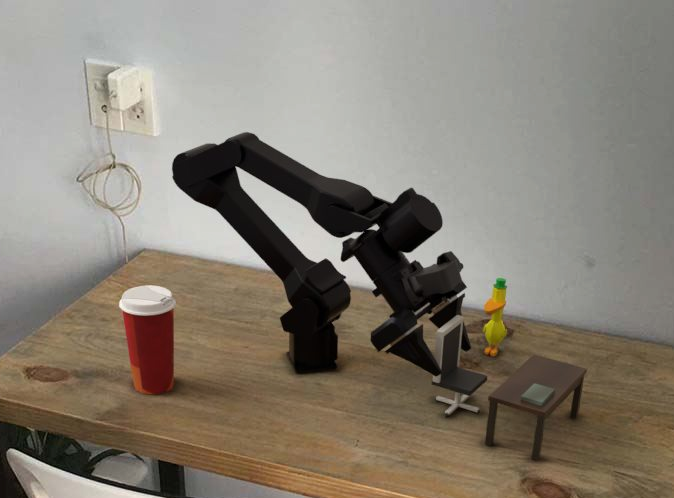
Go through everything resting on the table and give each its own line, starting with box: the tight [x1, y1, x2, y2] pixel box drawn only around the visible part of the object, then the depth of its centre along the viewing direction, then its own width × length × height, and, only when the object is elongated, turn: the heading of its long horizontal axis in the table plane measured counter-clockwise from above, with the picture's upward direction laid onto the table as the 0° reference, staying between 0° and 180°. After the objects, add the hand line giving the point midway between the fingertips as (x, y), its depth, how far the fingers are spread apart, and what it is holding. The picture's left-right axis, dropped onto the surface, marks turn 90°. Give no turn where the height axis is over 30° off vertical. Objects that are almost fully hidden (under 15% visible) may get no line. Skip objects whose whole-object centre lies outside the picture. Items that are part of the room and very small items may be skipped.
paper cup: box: [118, 284, 177, 395], centre depth 157 cm, size 8×8×14 cm
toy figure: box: [482, 277, 508, 357], centre depth 171 cm, size 7×4×12 cm, turn 151°
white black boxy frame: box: [431, 315, 489, 418], centre depth 156 cm, size 7×7×12 cm
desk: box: [484, 353, 588, 462], centre depth 153 cm, size 8×15×8 cm, turn 150°
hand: (454, 362), depth 156 cm, fingers open, 9 cm apart
